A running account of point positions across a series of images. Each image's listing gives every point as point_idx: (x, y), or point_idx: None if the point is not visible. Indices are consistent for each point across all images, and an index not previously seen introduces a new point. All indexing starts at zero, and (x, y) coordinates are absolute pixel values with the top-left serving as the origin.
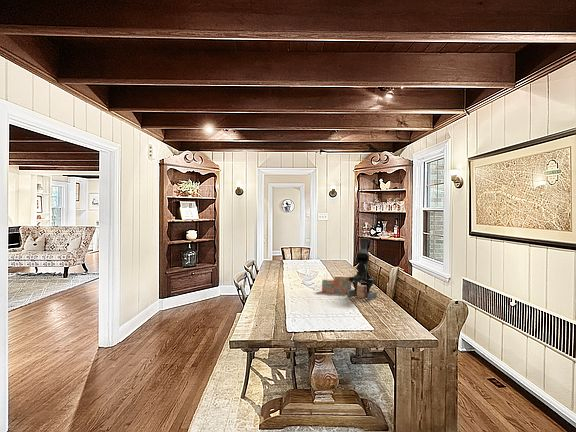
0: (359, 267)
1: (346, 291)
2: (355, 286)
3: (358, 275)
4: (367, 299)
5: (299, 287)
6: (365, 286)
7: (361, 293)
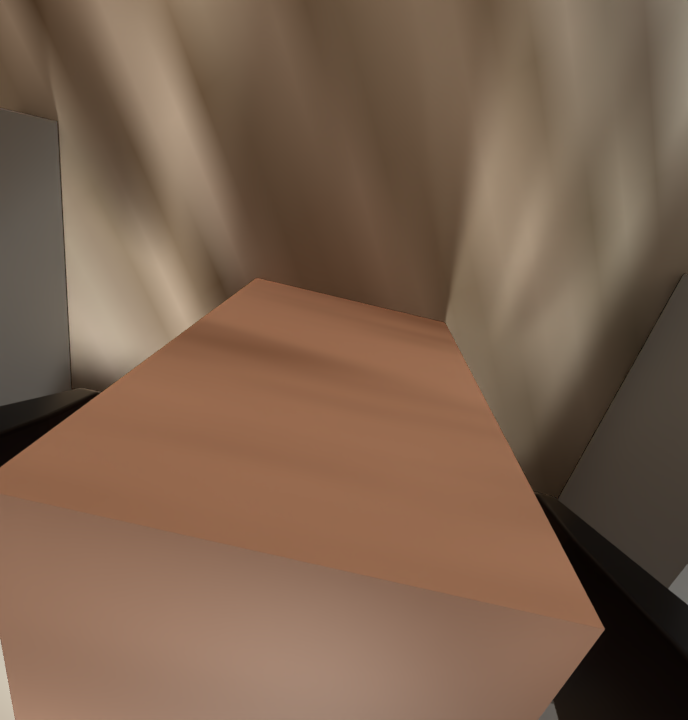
0: None
1: None
2: (680, 681)
3: None
4: (52, 120)
5: None
6: (29, 693)
7: (277, 327)
